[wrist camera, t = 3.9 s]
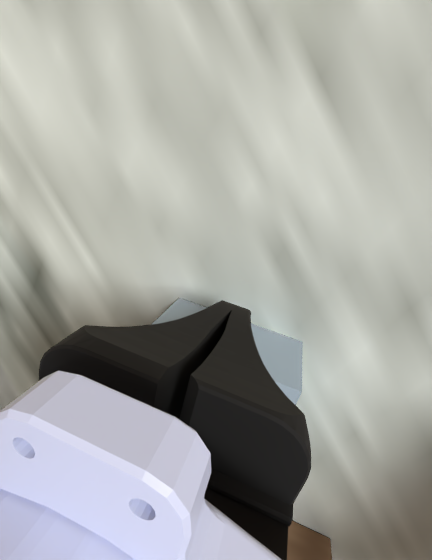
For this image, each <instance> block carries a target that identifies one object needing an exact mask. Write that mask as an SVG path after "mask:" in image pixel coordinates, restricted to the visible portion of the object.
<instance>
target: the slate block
mask: <svg viewBox="0 0 432 560" xmlns="http://www.w3.org/2000/svg"><path fill="white" fill-rule="evenodd" d="M204 309H206V307H203V306H201V305H198V304H195V303H192V302H189V301H187V300H184V299H181V298H178V299H177V300H176V301H175V302H174V303H173V304H172V305H171V306H170V307H169V308H168V309H167V310H166V311H165V312H164V313H163V314H162V315H161V316H160V317H159V318H158V319H157V320H155V321H154V322H153V323H152V324H159V323H164V322H169V321H173V320H177V319H180V318H183V317H186V316H189V315H192V314H194V313H197V312H199V311H201V310H204ZM152 324H151V325H152ZM251 328H252V332H253V337H254V341H255V344H256V347H257V350H258V352H259V355H260V357H261V359H262V361H263V364H264V365H265V367H266V369H267V371H268V372H269V374H270V375H271V377H272V378H273V380H274V381H275V383H276V384H277V385H278V386H279V388H280V389H281V390H282V391H283V393H284V394H285V395H286V396H287V397H288V398H289V399H290V400H291V401H292V402H293V403H294V404H295V405H296V403H297V401H298V399H299V397H300V395H301V392H302V342H301V341H298V340H296V339H293V338H290V337H287V336H285V335H282V334H279V333H276V332H273V331H271V330H268V329H265V328H262V327H259V326H257V325H254V324H251Z"/></svg>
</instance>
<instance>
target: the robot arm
mask: <svg viewBox="0 0 432 560" xmlns="http://www.w3.org/2000/svg"><path fill="white" fill-rule="evenodd" d="M250 317H251V312H250V310H248V309H245V308H242V307H239V306H237V305H234V304H231V303H228V302H225V301H220V302H218V303H216V304H214V305H212V306H210V307H208V308H206V309H204V310H201V311H199V312H197V313H194V314H192V315H189V316H186V317H183V318H180V319H177V320H173V321H169V322H164V323H159V324H152V325H145V326H133V327H104V326H87V325H85V326H83V327H82V328H80V329H79V330H77V331H76V332H74V333H72V334H71V335H70V336H68V337H67V338H65V339H64V340H62V341H61V342H59V343H58V344H56V345H55V346H53V347H52V348H51V349H49V350H48V351H47V352H46V353H45V354H44V356H43V358H42V359H41V361H40V369H39V381H38V382H37V383H36V384H34V385H33V386H32V387H31V388H29V389H28V390H27V391H25V392H24V393H23V394H21V395H20V396H19V397H17V398H16V399H15V400H14V401H12V402H11V403H10V404H8V405H7V406H6V407H4V408H3V409H2V410H0V560H287V545H288V526H289V527H290V525H291V523H292V519H293V503H294V501H295V499H296V498H297V496H298V494H299V492H300V491H301V489H302V487H303V485H304V484H305V482H306V480H307V478H308V476H309V473H310V470H311V448H310V440H309V435H308V429H307V424H306V419H305V415H304V414H303V413H302V412H301V411H300V410H299V409H298V407H297V406H296V405H295V404H294V403H293V402H292V401H291V400H290V399H289V398H288V397H287V396H286V395H285V394H284V393H283V391H282V390H281V389H280V388H279V386H278V385H277V384H276V383H275V381H274V380H273V378H272V377H271V375H270V374H269V372H268V371H267V369H266V367H265V365H264V364H263V361H262V359H261V357H260V355H259V352H258V350H257V347H256V344H255V341H254V337H253V332H252V328H251V319H250Z"/></svg>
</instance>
